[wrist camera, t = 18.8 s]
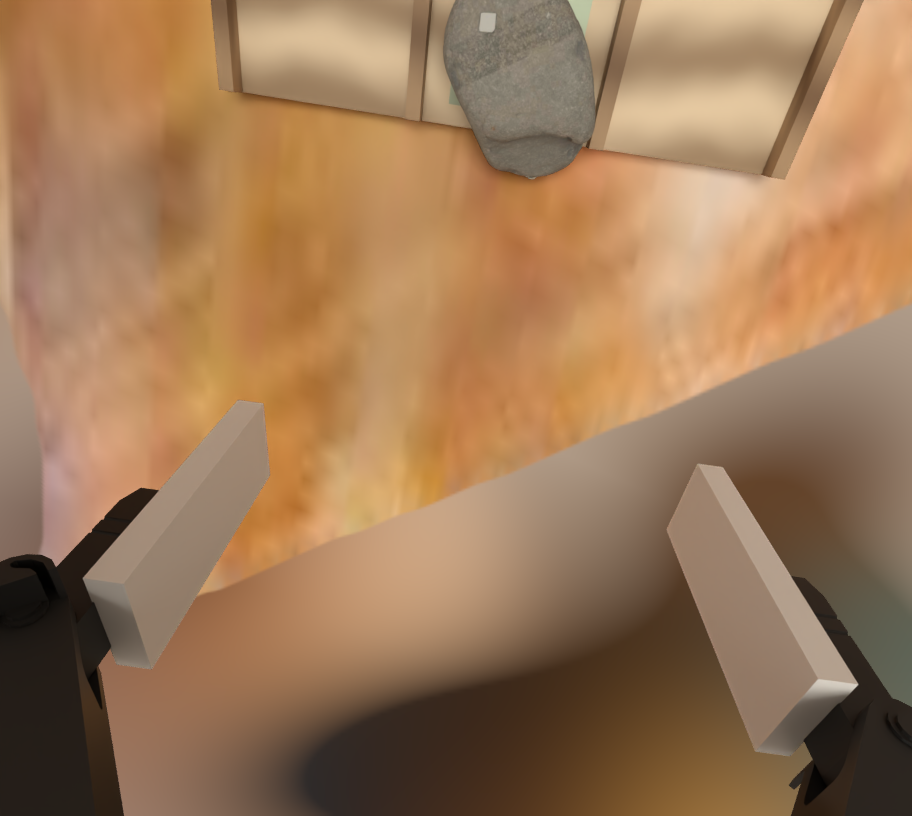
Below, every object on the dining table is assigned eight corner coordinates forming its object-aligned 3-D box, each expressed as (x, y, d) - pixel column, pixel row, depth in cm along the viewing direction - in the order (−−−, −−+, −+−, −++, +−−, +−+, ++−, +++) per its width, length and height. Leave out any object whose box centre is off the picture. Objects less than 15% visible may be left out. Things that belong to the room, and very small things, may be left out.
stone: (465, 192, 38) (447, 128, 28) (452, 71, 38) (429, -36, 28) (586, 172, 37) (611, 99, 27) (574, 48, 37) (595, -73, 27)
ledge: (225, -112, 32) (198, -134, 29) (838, -11, 33) (873, -22, 30) (240, 90, 38) (219, 89, 35) (762, 173, 39) (784, 179, 36)
